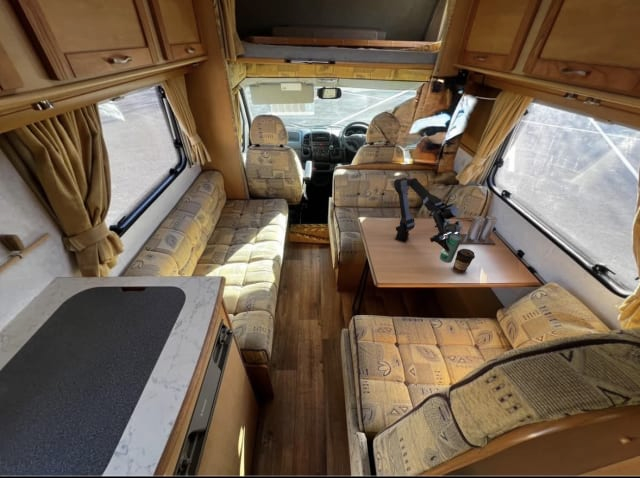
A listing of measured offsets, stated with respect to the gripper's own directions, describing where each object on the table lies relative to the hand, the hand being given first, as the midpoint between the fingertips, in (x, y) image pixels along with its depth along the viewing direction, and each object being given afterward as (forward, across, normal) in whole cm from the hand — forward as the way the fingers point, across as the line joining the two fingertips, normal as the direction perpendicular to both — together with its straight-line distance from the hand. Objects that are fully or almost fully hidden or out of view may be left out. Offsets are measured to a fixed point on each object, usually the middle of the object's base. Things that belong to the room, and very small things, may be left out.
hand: (452, 249), depth 135 cm
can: (+4, 0, +6) cm, 8 cm away
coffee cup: (+13, +5, +6) cm, 15 cm away
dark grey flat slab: (+2, +38, +17) cm, 42 cm away
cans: (+3, +41, +15) cm, 44 cm away
